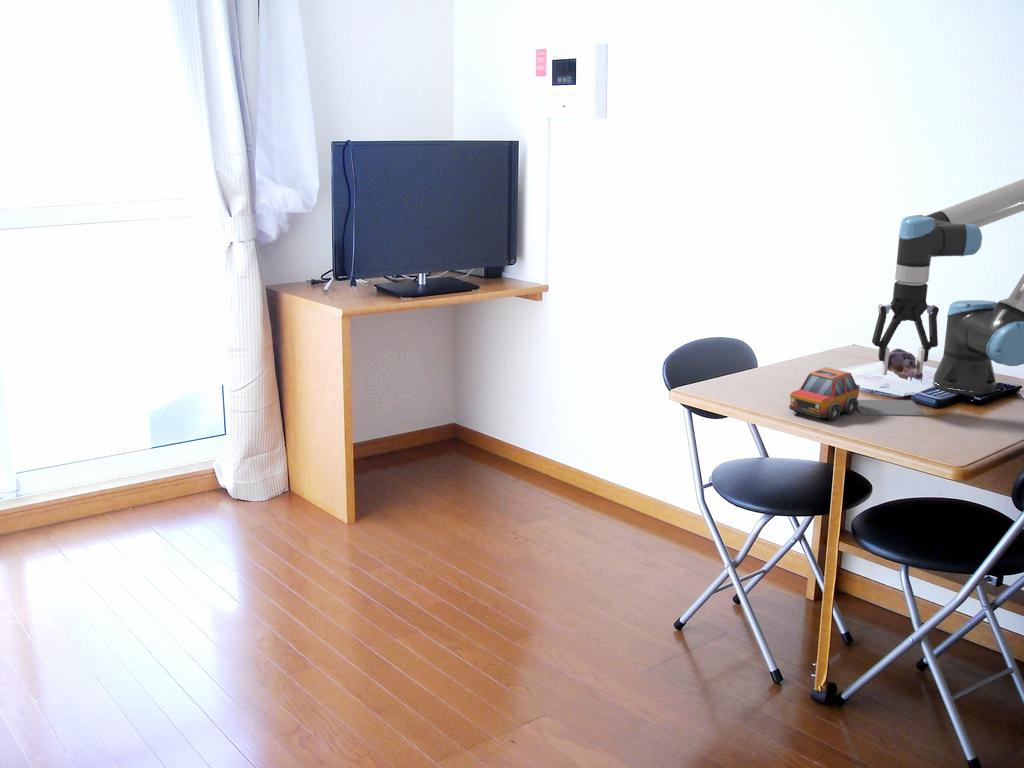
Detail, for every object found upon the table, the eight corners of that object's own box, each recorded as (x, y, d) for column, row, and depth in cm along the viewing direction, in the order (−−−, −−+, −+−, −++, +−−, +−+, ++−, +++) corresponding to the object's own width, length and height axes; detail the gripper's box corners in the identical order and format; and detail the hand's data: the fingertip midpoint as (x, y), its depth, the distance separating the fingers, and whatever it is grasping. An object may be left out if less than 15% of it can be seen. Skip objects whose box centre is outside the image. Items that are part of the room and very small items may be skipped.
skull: (930, 384, 249) (932, 359, 247) (898, 384, 249) (900, 360, 247) (909, 370, 261) (912, 346, 259) (879, 370, 260) (881, 347, 258)
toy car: (783, 414, 256) (786, 375, 254) (822, 400, 267) (825, 362, 264) (824, 425, 248) (827, 385, 245) (863, 410, 259) (866, 371, 256)
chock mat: (911, 401, 265) (912, 400, 264) (925, 416, 254) (925, 414, 253) (851, 400, 266) (851, 399, 266) (861, 415, 255) (861, 413, 255)
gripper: (950, 279, 252) (939, 370, 259) (863, 278, 254) (854, 368, 261) (960, 285, 245) (949, 379, 252) (871, 284, 247) (862, 377, 254)
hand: (901, 373), depth 256 cm, fingers closed on skull, 8 cm apart
